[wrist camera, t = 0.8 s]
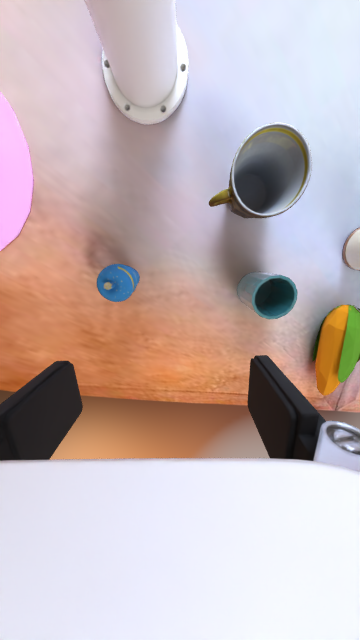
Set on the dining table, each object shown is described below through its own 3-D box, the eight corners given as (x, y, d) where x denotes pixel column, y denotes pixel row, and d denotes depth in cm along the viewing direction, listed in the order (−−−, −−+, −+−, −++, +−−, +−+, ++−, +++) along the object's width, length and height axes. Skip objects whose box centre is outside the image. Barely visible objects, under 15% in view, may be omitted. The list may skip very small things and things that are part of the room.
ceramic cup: (267, 151, 32) (304, 105, 22) (281, 214, 34) (318, 197, 25) (193, 186, 33) (197, 156, 24) (212, 243, 36) (223, 237, 27)
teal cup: (231, 281, 38) (245, 288, 30) (265, 265, 37) (289, 267, 29) (244, 311, 40) (260, 326, 31) (276, 296, 39) (302, 307, 30)
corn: (393, 311, 31) (358, 410, 38) (357, 301, 39) (332, 385, 45) (345, 309, 32) (318, 407, 38) (318, 300, 39) (299, 383, 45)
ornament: (153, 281, 38) (135, 294, 24) (132, 293, 39) (102, 313, 25) (139, 257, 37) (111, 257, 23) (117, 271, 38) (77, 278, 24)
